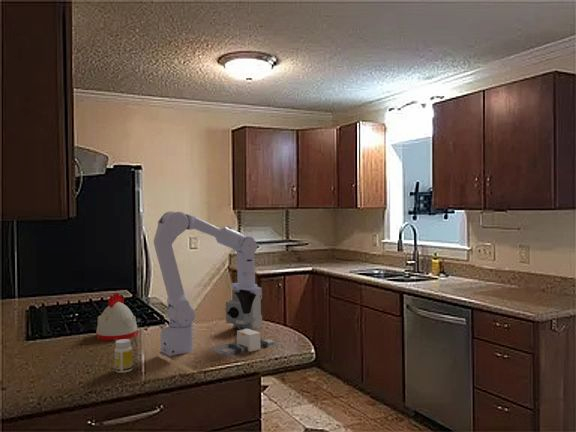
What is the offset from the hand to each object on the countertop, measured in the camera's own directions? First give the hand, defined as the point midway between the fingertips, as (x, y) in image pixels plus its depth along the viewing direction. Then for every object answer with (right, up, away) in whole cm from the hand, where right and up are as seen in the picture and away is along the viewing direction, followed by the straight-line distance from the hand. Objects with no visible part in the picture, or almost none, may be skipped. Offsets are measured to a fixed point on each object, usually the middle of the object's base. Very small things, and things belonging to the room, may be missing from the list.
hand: (246, 313), depth 173 cm
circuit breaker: (-2, -10, +16) cm, 19 cm away
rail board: (0, -10, -7) cm, 12 cm away
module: (+1, -9, -9) cm, 13 cm away
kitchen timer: (-47, -10, +12) cm, 50 cm away
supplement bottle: (-33, -11, -26) cm, 43 cm away
